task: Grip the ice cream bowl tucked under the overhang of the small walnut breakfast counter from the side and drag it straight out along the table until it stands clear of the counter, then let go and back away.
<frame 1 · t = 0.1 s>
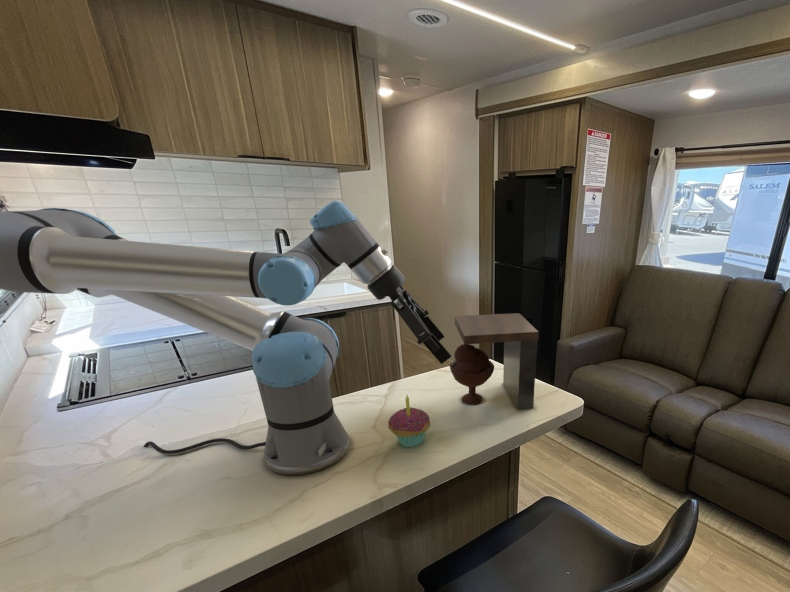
hand: (443, 349, 93), 15 cm above the countertop, tool tilted 35°, fingers open, 13 cm apart
cupcake: (410, 441, 85), on the countertop
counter: (493, 397, 104), on the countertop
ice cream bowl: (472, 400, 103), on the countertop
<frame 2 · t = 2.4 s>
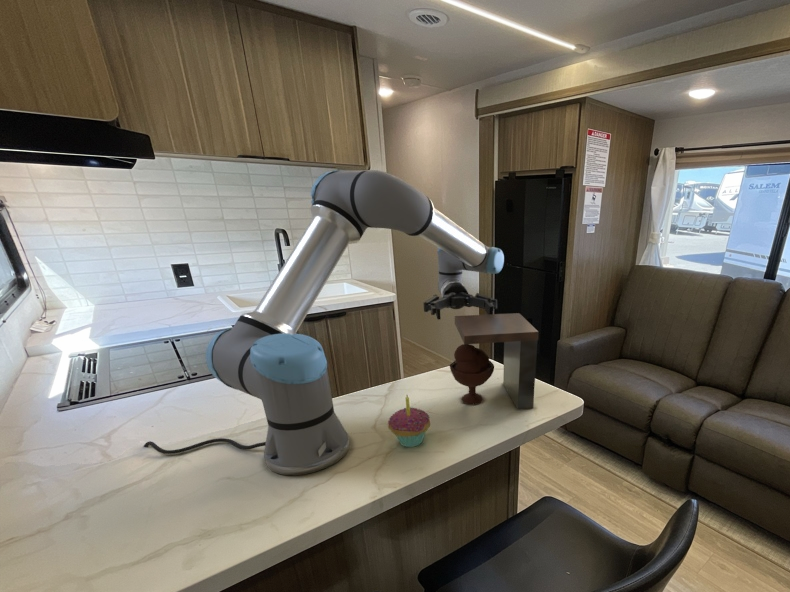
hand: (465, 313, 103), 20 cm above the countertop, tool horizontal, fingers open, 13 cm apart
nothing on the countertop moved.
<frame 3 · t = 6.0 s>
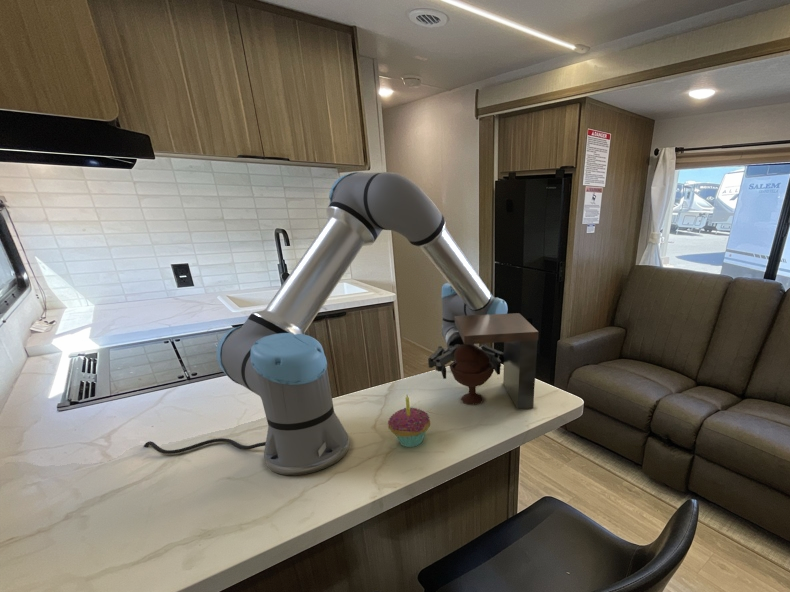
hand: (472, 371, 99), 8 cm above the countertop, tool horizontal, fingers open, 13 cm apart
nothing on the countertop moved.
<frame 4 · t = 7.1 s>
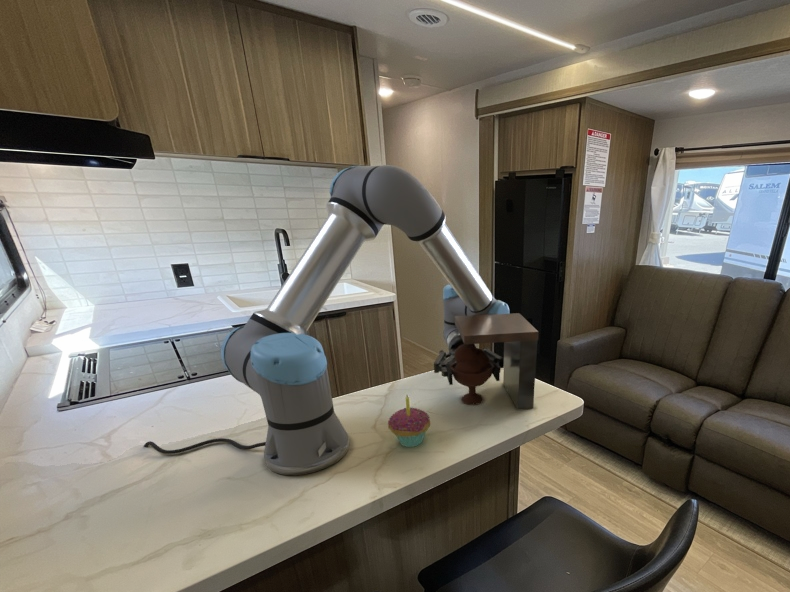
hand: (474, 377, 96), 8 cm above the countertop, tool horizontal, fingers closed on ice cream bowl, 11 cm apart
ice cream bowl: (472, 400, 103), on the countertop, touching gripper
everything else where it was.
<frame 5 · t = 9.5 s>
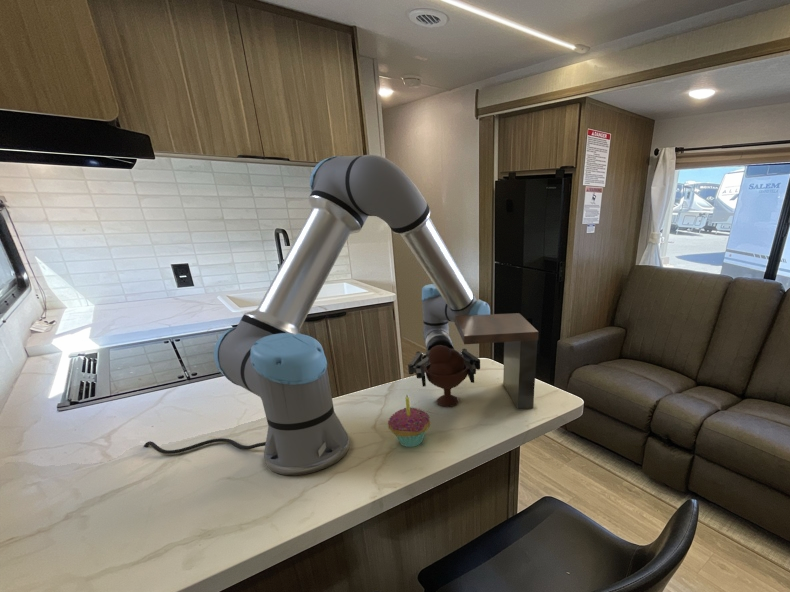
hand: (448, 379, 94), 8 cm above the countertop, tool horizontal, fingers closed on ice cream bowl, 11 cm apart
ice cream bowl: (447, 402, 101), on the countertop, touching gripper
everything else where it was.
when the fingers open (8 cm above the countertop, at t = 12.2 s): ice cream bowl stays where it is, on the countertop.
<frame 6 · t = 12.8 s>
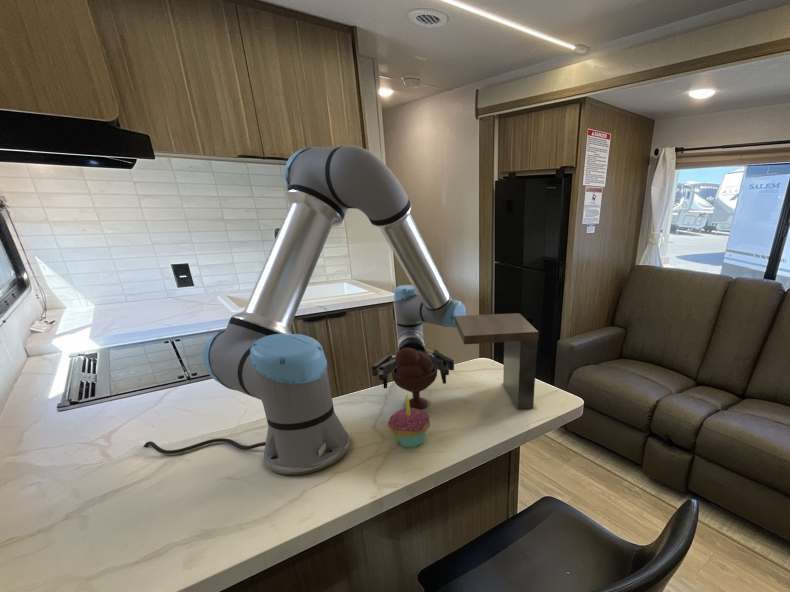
hand: (415, 380, 93), 8 cm above the countertop, tool horizontal, fingers open, 13 cm apart
ice cream bowl: (417, 405, 100), on the countertop
everything else where it was.
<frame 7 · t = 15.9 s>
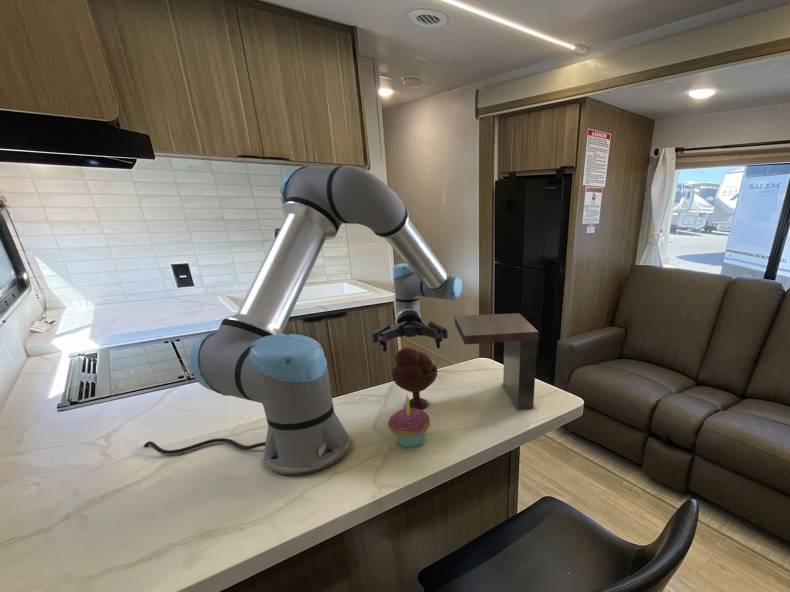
hand: (411, 344, 103), 12 cm above the countertop, tool horizontal, fingers open, 13 cm apart
nothing on the countertop moved.
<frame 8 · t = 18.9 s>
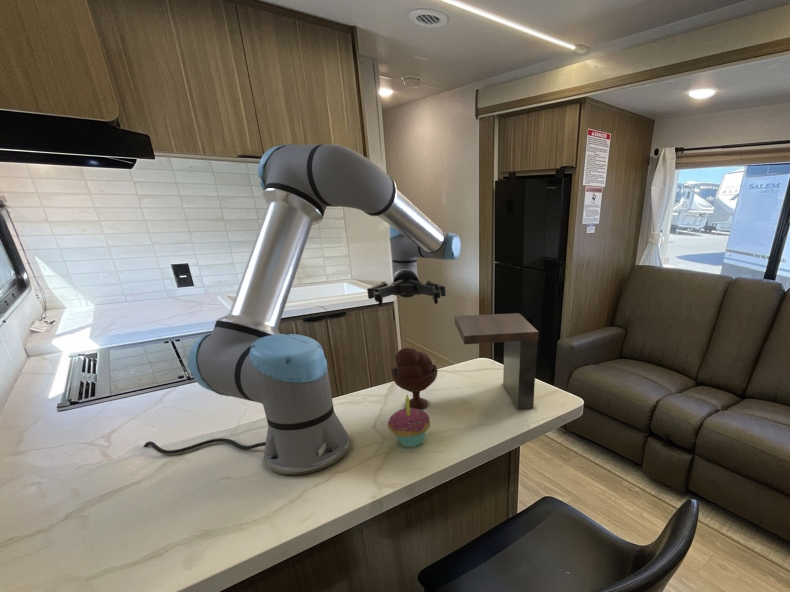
hand: (408, 299, 99), 24 cm above the countertop, tool horizontal, fingers open, 13 cm apart
nothing on the countertop moved.
at the end: ice cream bowl inside the target area (0.3 cm from its centre), on the countertop; ice cream bowl tilted 0°; the gripper is holding nothing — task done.
